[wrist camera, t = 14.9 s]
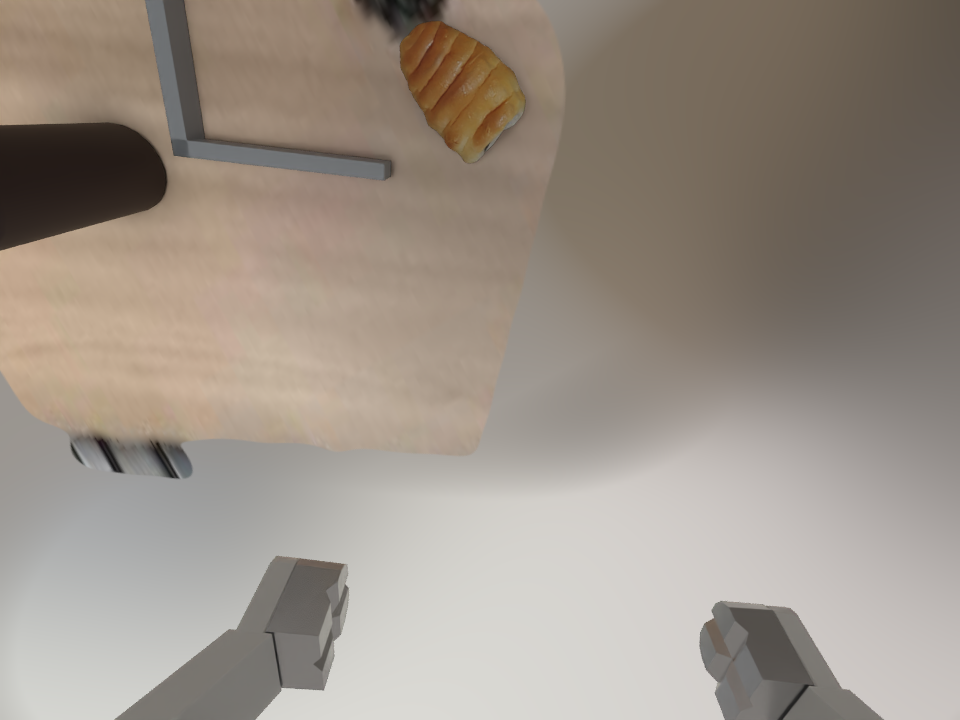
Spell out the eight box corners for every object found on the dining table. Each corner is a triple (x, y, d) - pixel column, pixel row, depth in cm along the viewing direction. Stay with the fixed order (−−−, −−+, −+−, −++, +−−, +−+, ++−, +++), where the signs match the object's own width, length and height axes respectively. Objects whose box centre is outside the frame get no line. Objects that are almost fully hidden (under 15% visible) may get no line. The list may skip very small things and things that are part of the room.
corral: (139, -163, 29) (110, -185, 27) (395, -129, 30) (387, -149, 28) (192, 153, 38) (173, 155, 36) (390, 176, 38) (384, 180, 36)
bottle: (74, 176, 39) (-272, 228, 22) (96, 103, 37) (-277, 94, 19) (153, 226, 41) (-107, 312, 23) (179, 159, 38) (-91, 199, 21)
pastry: (383, 76, 35) (369, 72, 32) (442, -7, 32) (434, -21, 29) (475, 169, 38) (470, 175, 34) (536, 99, 35) (538, 98, 32)
